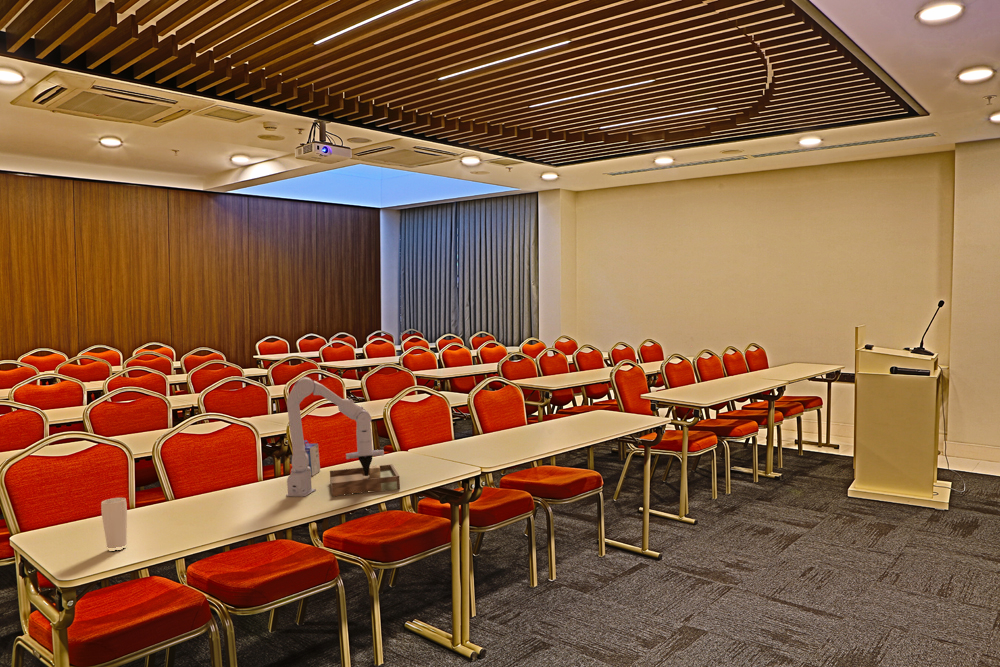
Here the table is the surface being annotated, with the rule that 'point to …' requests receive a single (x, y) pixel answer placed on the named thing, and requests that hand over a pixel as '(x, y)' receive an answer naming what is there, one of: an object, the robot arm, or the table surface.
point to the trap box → (363, 480)
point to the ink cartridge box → (313, 457)
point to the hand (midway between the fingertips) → (366, 475)
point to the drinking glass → (115, 521)
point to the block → (374, 472)
